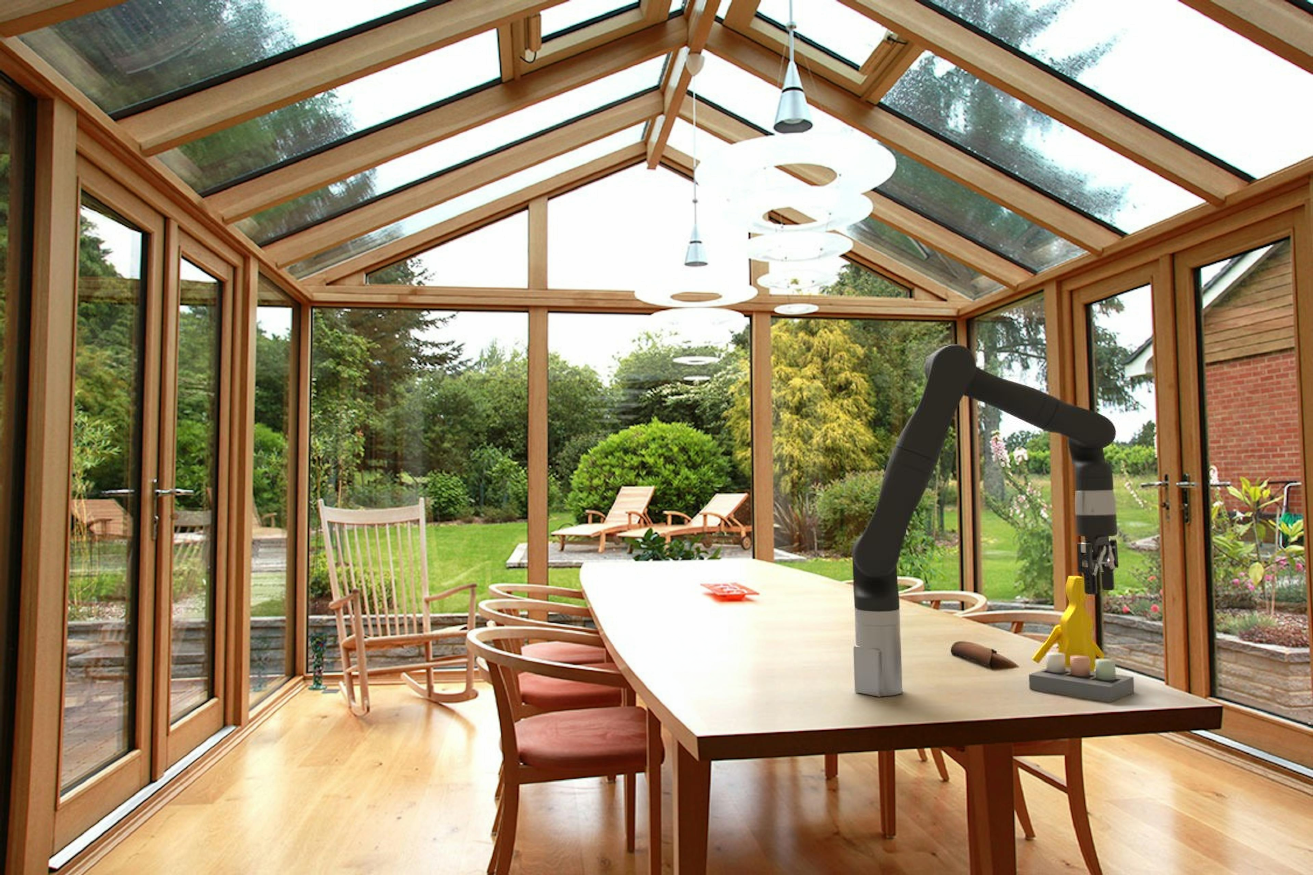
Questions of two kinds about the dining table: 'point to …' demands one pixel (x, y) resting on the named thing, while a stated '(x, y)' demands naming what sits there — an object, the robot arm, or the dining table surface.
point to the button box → (1081, 685)
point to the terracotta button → (1080, 665)
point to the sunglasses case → (982, 655)
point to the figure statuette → (1073, 628)
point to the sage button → (1105, 669)
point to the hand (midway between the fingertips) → (1099, 591)
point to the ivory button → (1055, 662)
